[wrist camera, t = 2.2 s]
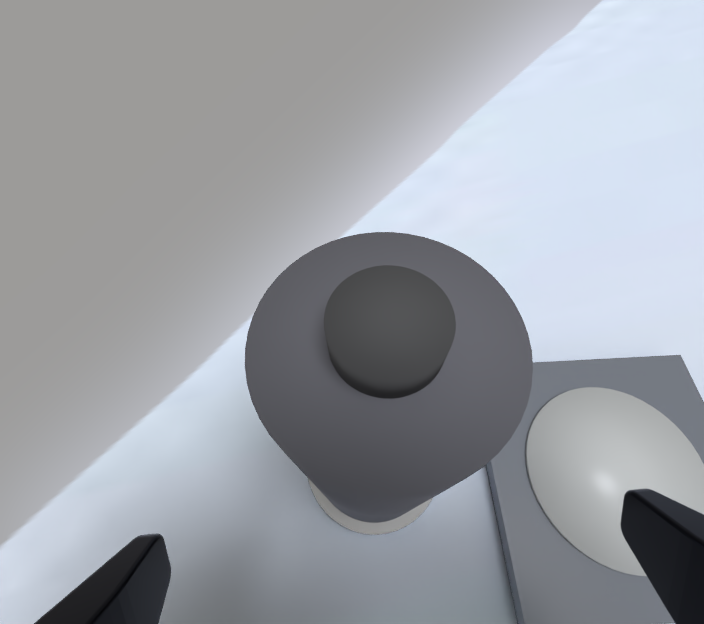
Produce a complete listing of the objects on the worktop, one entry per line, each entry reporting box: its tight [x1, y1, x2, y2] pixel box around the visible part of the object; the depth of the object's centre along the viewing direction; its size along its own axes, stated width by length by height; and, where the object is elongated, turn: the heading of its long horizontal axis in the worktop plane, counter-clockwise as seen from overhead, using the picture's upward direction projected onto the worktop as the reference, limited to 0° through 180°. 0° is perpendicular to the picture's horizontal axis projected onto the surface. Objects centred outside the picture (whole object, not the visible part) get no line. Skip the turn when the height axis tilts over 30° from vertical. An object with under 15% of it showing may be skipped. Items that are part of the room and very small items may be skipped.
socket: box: [486, 355, 704, 624], centre depth 17 cm, size 10×10×1 cm
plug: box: [245, 232, 533, 535], centre depth 12 cm, size 6×6×13 cm
